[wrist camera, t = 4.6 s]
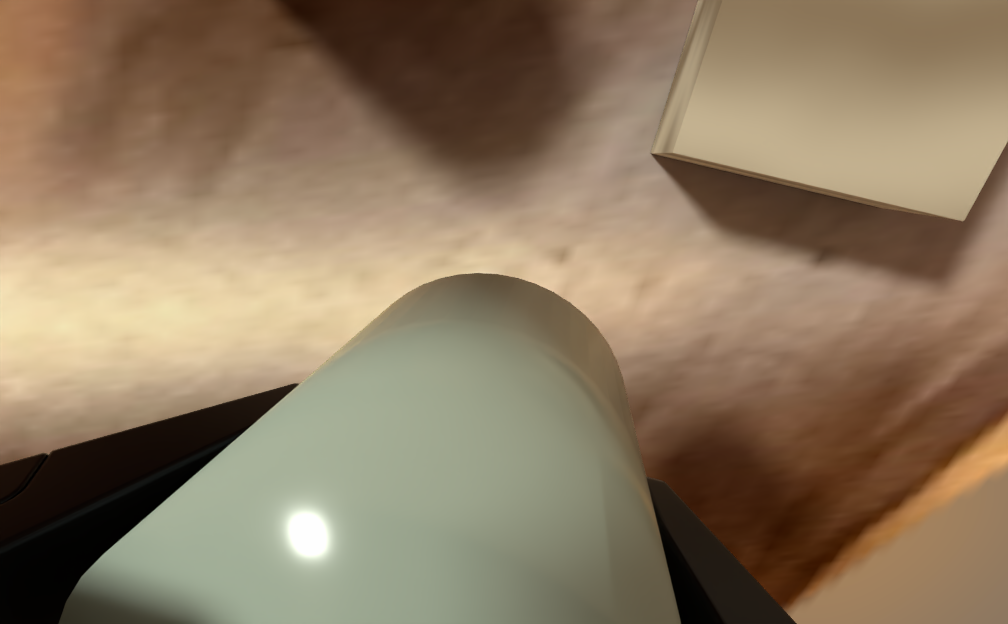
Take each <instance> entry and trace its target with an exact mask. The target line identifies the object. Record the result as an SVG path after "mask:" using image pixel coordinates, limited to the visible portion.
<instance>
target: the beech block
mask: <svg viewBox="0 0 1008 624" xmlns="http://www.w3.org/2000/svg"><path fill="white" fill-rule="evenodd" d="M1007 142H1008V0H698V3H697V6H696V9H695V13H694V16H693V19H692V22H691V25H690V29H689V32H688V35H687V38H686V41H685V45H684V48H683V51H682V54H681V57H680V61H679V64H678V67H677V70H676V73H675V77H674V80H673V83H672V86H671V89H670V93H669V96H668V99H667V102H666V105H665V109H664V112H663V115H662V118H661V121H660V125H659V128H658V131H657V134H656V137H655V141H654V144H653V147H652V150H651V154H655V155H659V156H664V157H668V158H672V159H676V160H680V161H685V162H689V163H693V164H697V165H702V166H706V167H710V168H714V169H718V170H723V171H727V172H731V173H735V174H740V175H744V176H748V177H752V178H756V179H761V180H765V181H769V182H773V183H778V184H782V185H786V186H790V187H794V188H799V189H803V190H807V191H811V192H816V193H820V194H824V195H828V196H833V197H837V198H841V199H845V200H849V201H854V202H858V203H862V204H866V205H871V206H875V207H879V208H884V209H890V210H897V211H903V212H909V213H915V214H921V215H927V216H933V217H940V218H946V219H952V220H958V221H964V220H965V218H966V216H967V215H968V213H969V211H970V209H971V207H972V206H973V204H974V202H975V200H976V198H977V196H978V195H979V193H980V191H981V189H982V187H983V186H984V184H985V182H986V180H987V178H988V176H989V175H990V173H991V171H992V169H993V167H994V166H995V164H996V162H997V160H998V158H999V156H1000V155H1001V153H1002V151H1003V149H1004V147H1005V146H1006V144H1007Z"/></svg>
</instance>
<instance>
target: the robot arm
mask: <svg viewBox="0 0 1008 624" xmlns="http://www.w3.org/2000/svg"><path fill="white" fill-rule="evenodd" d="M298 385H299V384H296V383H295V384H291V385H287V386H284V387H280V388H276V389H273V390H269V391H266V392H262V393H258V394H255V395H251V396H248V397H244V398H240V399H237V400H233V401H230V402H226V403H222V404H219V405H215V406H212V407H208V408H204V409H201V410H197V411H194V412H190V413H186V414H183V415H179V416H176V417H172V418H168V419H165V420H161V421H158V422H154V423H150V424H147V425H143V426H140V427H136V428H132V429H129V430H125V431H122V432H118V433H114V434H111V435H107V436H104V437H100V438H96V439H93V440H89V441H85V442H82V443H78V444H75V445H71V446H67V447H64V448H60V449H57V450H53V451H52V452H51V453H50V454H49V455H48V454H47V453H42V454H38V455H35V456H31V457H27V458H24V459H20V460H17V461H13V462H10V463H6V464H2V465H0V624H59V621H60V618H61V615H62V612H63V609H64V607H65V604H66V601H67V599H68V598H69V596H70V595H71V593H72V591H73V590H74V588H75V586H76V585H77V583H78V582H79V580H80V578H81V577H82V576H83V575H84V574H85V573H86V572H87V570H88V569H89V568H90V567H91V566H92V565H93V564H94V563H95V562H96V561H97V560H98V559H99V558H100V557H101V556H102V555H103V554H104V553H105V552H106V551H108V550H109V549H110V548H111V547H112V546H113V545H114V544H116V543H117V542H118V541H119V540H120V539H121V538H123V537H124V536H125V535H126V534H127V533H128V532H130V531H131V530H132V529H133V528H134V527H135V526H136V525H138V524H139V523H140V522H141V521H142V520H143V519H145V518H146V517H147V516H148V515H149V514H150V513H151V512H153V511H154V510H155V509H156V508H157V507H158V506H160V505H161V504H162V503H163V502H164V501H165V500H166V499H168V498H169V497H170V496H171V495H172V494H173V493H175V492H176V491H177V490H178V489H179V488H180V487H181V486H183V485H184V484H185V483H186V482H187V481H188V480H190V479H191V478H192V477H193V476H194V475H195V474H196V473H198V472H199V471H200V470H201V469H202V468H203V467H205V466H206V465H207V464H208V463H209V462H210V461H211V460H213V459H214V458H215V457H216V456H217V455H218V454H220V453H221V452H222V451H223V450H224V449H225V448H226V447H228V446H229V445H230V444H231V443H232V442H233V441H235V440H236V439H237V438H238V437H239V436H240V435H241V434H243V433H244V432H245V431H246V430H247V429H248V428H250V427H251V426H252V425H253V424H254V423H255V422H256V421H258V420H259V419H260V418H261V417H262V416H263V415H265V414H266V413H267V412H268V411H269V410H270V409H272V408H273V407H274V406H275V405H276V404H277V403H278V402H280V401H281V400H282V399H283V398H284V397H285V396H287V395H288V394H289V393H290V392H291V391H292V390H293V389H295V388H296V387H297V386H298ZM646 478H647V482H648V486H649V490H650V494H651V499H652V503H653V507H654V511H655V515H656V520H657V524H658V528H659V532H660V536H661V541H662V545H663V549H664V553H665V557H666V562H667V566H668V570H669V574H670V578H671V583H672V587H673V591H674V595H675V599H676V604H677V608H678V612H679V616H680V620H681V624H796V623H795V622H794V620H793V619H792V618H791V617H790V616H789V615H788V614H787V613H786V612H785V611H784V610H783V609H782V607H781V606H780V605H779V604H778V603H777V602H776V601H775V600H774V599H773V598H772V597H771V596H770V595H769V593H768V592H767V591H766V590H765V589H764V588H763V587H762V586H761V585H760V584H759V583H758V582H757V581H756V579H755V578H754V577H753V576H752V575H751V574H750V573H749V572H748V571H747V570H746V569H745V568H744V566H743V565H742V564H741V563H740V562H739V561H738V560H737V559H736V558H735V557H734V556H733V555H732V554H731V552H730V551H729V550H728V549H727V548H726V547H725V546H724V545H723V544H722V543H721V542H720V541H719V540H718V538H717V537H716V536H715V535H714V534H713V533H712V532H711V531H710V530H709V529H708V528H707V527H706V526H705V524H704V523H703V522H702V521H701V520H700V519H699V518H698V517H697V516H696V515H695V514H694V513H693V511H692V510H691V509H690V508H689V507H688V506H687V505H686V504H685V503H684V502H683V501H682V500H681V499H680V497H679V496H678V495H677V494H676V493H675V492H674V491H673V490H672V489H671V488H670V487H669V486H668V485H667V484H666V483H665V482H664V481H661V480H658V479H654V478H650V477H646Z"/></svg>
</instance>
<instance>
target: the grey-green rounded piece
mask: <svg viewBox="0 0 1008 624" xmlns="http://www.w3.org/2000/svg"><path fill="white" fill-rule="evenodd" d="M59 624H681V620H680V616H679V612H678V608H677V604H676V599H675V595H674V591H673V587H672V583H671V578H670V574H669V570H668V566H667V562H666V557H665V553H664V549H663V545H662V541H661V536H660V532H659V528H658V524H657V520H656V515H655V511H654V507H653V503H652V499H651V494H650V490H649V486H648V482H647V478H646V473H645V469H644V465H643V461H642V457H641V452H640V448H639V444H638V440H637V436H636V431H635V427H634V423H633V419H632V415H631V410H630V406H629V402H628V398H627V394H626V389H625V385H624V381H623V377H622V374H621V371H620V368H619V365H618V362H617V360H616V358H615V356H614V354H613V352H612V350H611V348H610V346H609V344H608V343H607V341H606V340H605V338H604V337H603V336H602V334H601V333H600V331H599V330H598V329H597V327H596V326H595V325H594V324H593V323H592V322H591V321H590V320H589V319H588V318H587V317H586V316H585V315H584V314H583V313H582V312H581V311H579V310H578V309H577V308H576V307H575V306H573V305H572V304H571V303H570V302H568V301H567V300H565V299H563V298H562V297H560V296H559V295H557V294H555V293H554V292H552V291H550V290H548V289H545V288H543V287H541V286H539V285H537V284H534V283H531V282H528V281H525V280H522V279H519V278H515V277H509V276H504V275H498V274H483V273H474V274H461V275H454V276H450V277H445V278H440V279H437V280H435V281H432V282H429V283H426V284H423V285H421V286H419V287H418V288H416V289H414V290H412V291H410V292H408V293H406V294H405V295H404V296H402V297H401V298H400V299H398V300H397V301H395V302H394V303H393V304H392V305H390V306H389V307H388V308H387V309H386V310H385V311H383V312H382V313H381V314H380V315H379V316H378V317H377V318H375V319H374V320H373V321H372V322H371V323H370V324H368V325H367V326H366V327H365V328H364V329H363V330H362V331H360V332H359V333H358V334H357V335H356V336H355V337H353V338H352V339H351V340H350V341H349V342H348V343H347V344H345V345H344V346H343V347H342V348H341V349H340V350H338V351H337V352H336V353H335V354H334V355H333V356H332V357H330V358H329V359H328V360H327V361H326V362H325V363H323V364H322V365H321V366H320V367H319V368H318V369H317V370H315V371H314V372H313V373H312V374H311V375H310V376H308V377H307V378H306V379H305V380H304V381H303V382H302V383H300V384H299V385H298V386H297V387H296V388H295V389H293V390H292V391H291V392H290V393H289V394H288V395H287V396H285V397H284V398H283V399H282V400H281V401H280V402H278V403H277V404H276V405H275V406H274V407H273V408H272V409H270V410H269V411H268V412H267V413H266V414H265V415H263V416H262V417H261V418H260V419H259V420H258V421H256V422H255V423H254V424H253V425H252V426H251V427H250V428H248V429H247V430H246V431H245V432H244V433H243V434H241V435H240V436H239V437H238V438H237V439H236V440H235V441H233V442H232V443H231V444H230V445H229V446H228V447H226V448H225V449H224V450H223V451H222V452H221V453H220V454H218V455H217V456H216V457H215V458H214V459H213V460H211V461H210V462H209V463H208V464H207V465H206V466H205V467H203V468H202V469H201V470H200V471H199V472H198V473H196V474H195V475H194V476H193V477H192V478H191V479H190V480H188V481H187V482H186V483H185V484H184V485H183V486H181V487H180V488H179V489H178V490H177V491H176V492H175V493H173V494H172V495H171V496H170V497H169V498H168V499H166V500H165V501H164V502H163V503H162V504H161V505H160V506H158V507H157V508H156V509H155V510H154V511H153V512H151V513H150V514H149V515H148V516H147V517H146V518H145V519H143V520H142V521H141V522H140V523H139V524H138V525H136V526H135V527H134V528H133V529H132V530H131V531H130V532H128V533H127V534H126V535H125V536H124V537H123V538H121V539H120V540H119V541H118V542H117V543H116V544H114V545H113V546H112V547H111V548H110V549H109V550H108V551H106V552H105V553H104V554H103V555H102V556H101V557H100V558H99V559H98V560H97V561H96V562H95V563H94V564H93V565H92V566H91V567H90V568H89V569H88V570H87V572H86V573H85V574H84V575H83V576H82V577H81V578H80V580H79V582H78V583H77V585H76V586H75V588H74V590H73V591H72V593H71V595H70V596H69V598H68V599H67V601H66V604H65V607H64V609H63V612H62V615H61V618H60V621H59Z"/></svg>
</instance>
